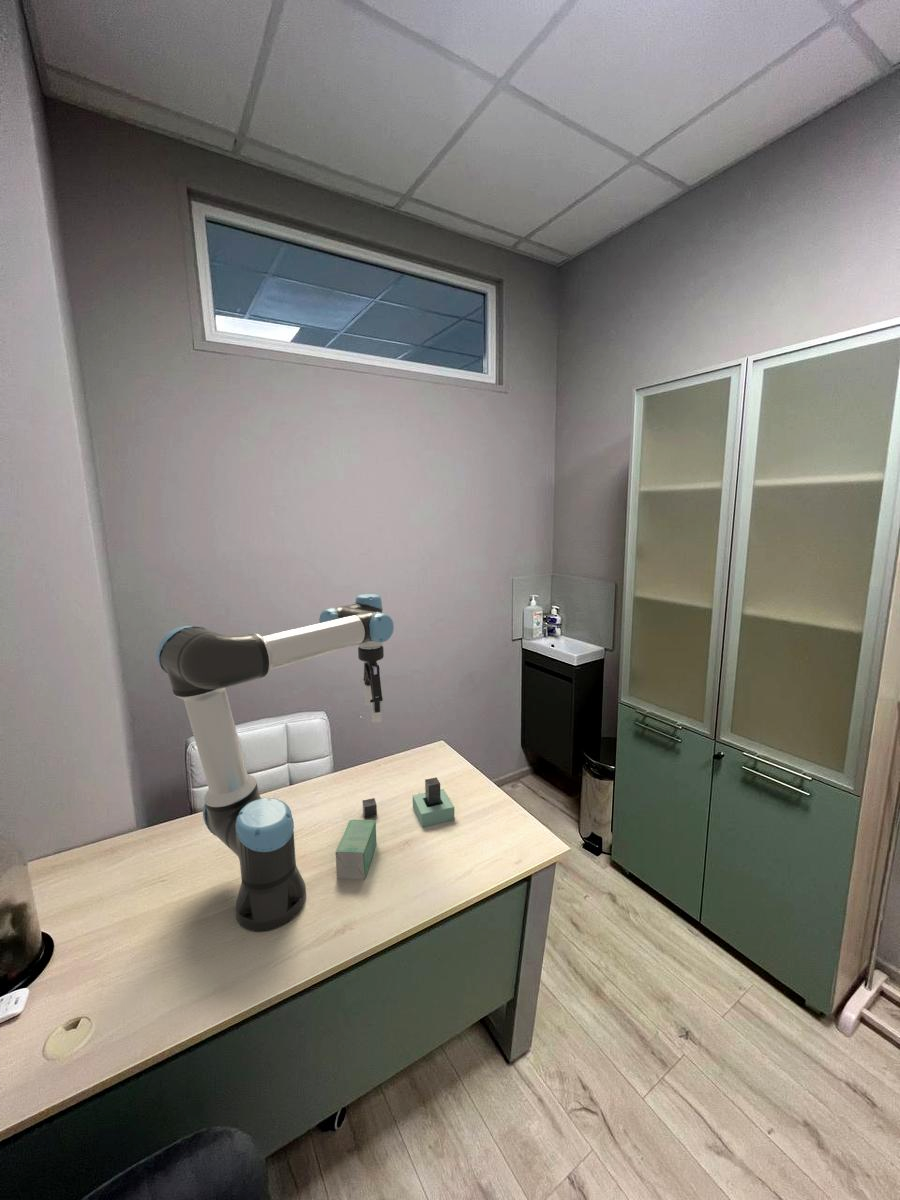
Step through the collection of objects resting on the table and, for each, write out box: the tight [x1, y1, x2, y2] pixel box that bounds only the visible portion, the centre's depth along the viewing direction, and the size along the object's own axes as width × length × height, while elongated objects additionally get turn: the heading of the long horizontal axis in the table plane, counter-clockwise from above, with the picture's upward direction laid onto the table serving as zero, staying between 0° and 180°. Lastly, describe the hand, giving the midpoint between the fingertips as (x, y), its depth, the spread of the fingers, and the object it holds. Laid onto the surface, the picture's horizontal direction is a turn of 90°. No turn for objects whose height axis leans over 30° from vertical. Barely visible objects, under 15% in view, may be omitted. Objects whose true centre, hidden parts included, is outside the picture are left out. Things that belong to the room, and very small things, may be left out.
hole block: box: [412, 788, 456, 827], centre depth 142 cm, size 10×10×4 cm
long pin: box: [424, 777, 441, 807], centre depth 141 cm, size 4×4×10 cm
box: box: [335, 819, 378, 880], centre depth 123 cm, size 7×14×8 cm, turn 176°
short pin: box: [361, 797, 378, 819], centre depth 142 cm, size 4×4×4 cm
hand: (373, 713), depth 145 cm, fingers open, 13 cm apart
